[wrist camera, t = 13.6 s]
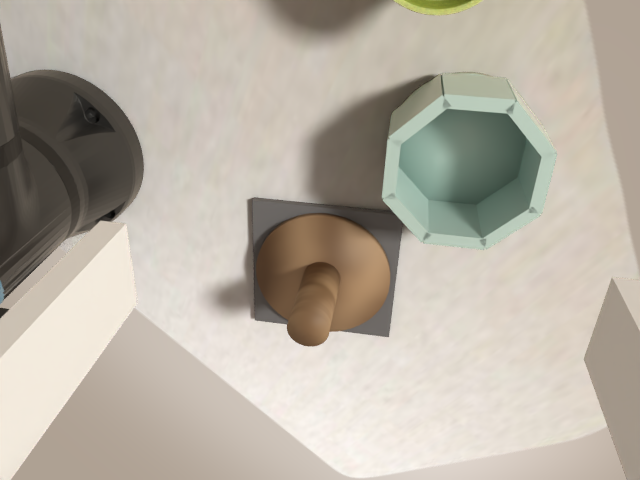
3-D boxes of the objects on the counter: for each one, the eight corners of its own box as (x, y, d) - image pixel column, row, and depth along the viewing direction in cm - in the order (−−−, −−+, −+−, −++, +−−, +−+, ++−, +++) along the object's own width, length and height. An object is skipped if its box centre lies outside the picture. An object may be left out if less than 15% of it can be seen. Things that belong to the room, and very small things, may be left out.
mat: (256, 316, 62) (255, 320, 61) (253, 197, 55) (252, 200, 54) (388, 333, 60) (388, 337, 60) (403, 212, 53) (403, 215, 53)
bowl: (382, 200, 53) (377, 238, 47) (396, 66, 47) (392, 90, 41) (518, 214, 52) (531, 255, 46) (550, 77, 46) (570, 104, 40)
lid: (259, 317, 61) (235, 376, 53) (257, 206, 55) (230, 255, 47) (383, 332, 60) (378, 396, 52) (397, 220, 53) (392, 274, 45)
